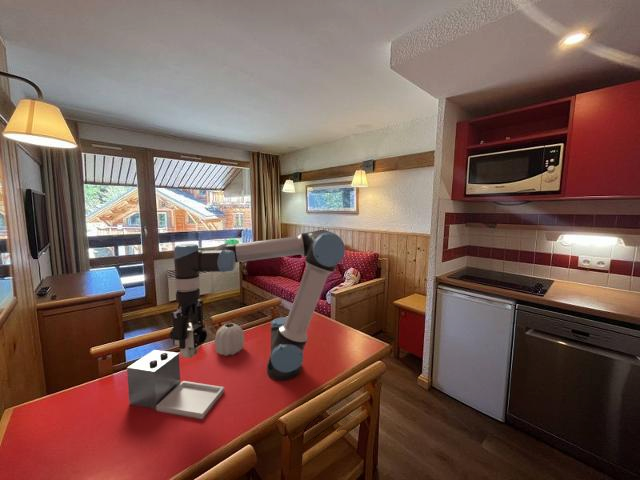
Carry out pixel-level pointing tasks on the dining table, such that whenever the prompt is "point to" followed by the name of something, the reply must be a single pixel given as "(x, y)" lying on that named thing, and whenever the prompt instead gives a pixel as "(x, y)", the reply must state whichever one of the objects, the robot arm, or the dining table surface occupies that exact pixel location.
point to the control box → (153, 378)
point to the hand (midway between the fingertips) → (190, 351)
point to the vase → (229, 339)
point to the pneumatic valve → (192, 338)
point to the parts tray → (191, 399)
